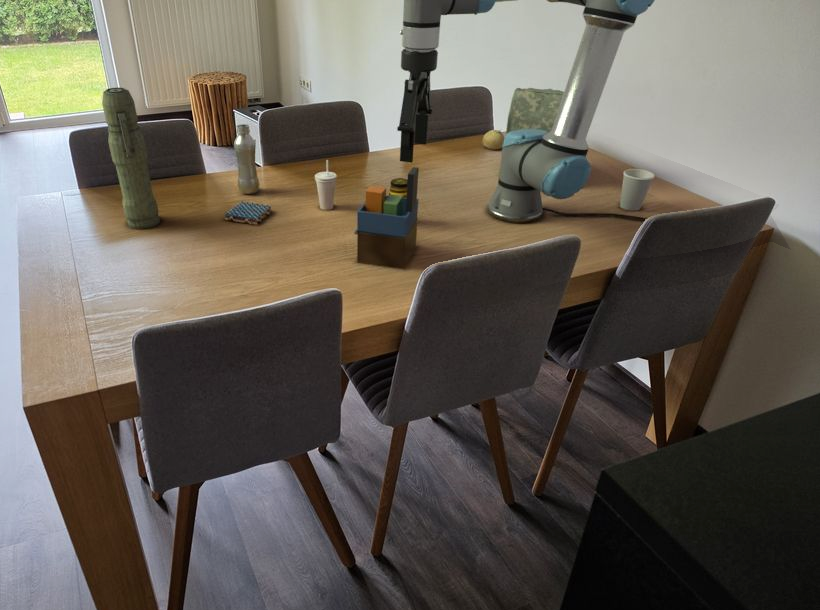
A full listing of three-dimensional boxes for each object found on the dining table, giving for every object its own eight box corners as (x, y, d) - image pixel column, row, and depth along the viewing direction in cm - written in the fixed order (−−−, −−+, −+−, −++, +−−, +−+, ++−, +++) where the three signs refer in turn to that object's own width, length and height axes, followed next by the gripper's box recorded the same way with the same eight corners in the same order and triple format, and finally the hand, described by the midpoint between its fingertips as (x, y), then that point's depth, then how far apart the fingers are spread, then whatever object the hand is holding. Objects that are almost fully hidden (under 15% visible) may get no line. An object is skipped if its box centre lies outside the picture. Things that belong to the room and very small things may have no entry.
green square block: (402, 218, 151) (403, 195, 148) (395, 228, 147) (396, 204, 143) (389, 217, 152) (390, 194, 149) (383, 226, 148) (383, 203, 144)
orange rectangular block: (385, 218, 152) (386, 187, 147) (381, 224, 149) (381, 192, 144) (370, 216, 153) (370, 185, 148) (365, 222, 150) (365, 191, 145)
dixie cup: (649, 206, 180) (659, 173, 174) (638, 214, 175) (648, 180, 170) (622, 199, 185) (630, 166, 179) (610, 207, 180) (618, 173, 174)
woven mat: (223, 220, 172) (222, 214, 171) (241, 207, 180) (240, 200, 179) (256, 226, 169) (255, 219, 168) (273, 211, 177) (272, 205, 176)
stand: (416, 245, 159) (418, 214, 154) (402, 270, 148) (404, 237, 143) (370, 239, 162) (371, 208, 157) (353, 262, 151) (353, 230, 146)
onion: (481, 151, 223) (484, 131, 219) (481, 144, 230) (484, 125, 225) (504, 152, 222) (506, 132, 218) (503, 145, 228) (506, 126, 224)
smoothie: (334, 212, 177) (333, 164, 169) (313, 210, 178) (311, 163, 170) (339, 204, 182) (339, 157, 174) (318, 202, 183) (317, 155, 175)
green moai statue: (154, 212, 177) (128, 83, 157) (165, 226, 168) (139, 92, 148) (122, 218, 173) (92, 86, 153) (132, 233, 165) (101, 96, 145)
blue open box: (418, 218, 153) (422, 162, 145) (406, 237, 144) (410, 179, 136) (371, 212, 156) (372, 157, 148) (357, 230, 147) (357, 173, 139)
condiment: (407, 229, 167) (409, 186, 160) (377, 225, 169) (378, 183, 162) (413, 218, 173) (415, 177, 166) (384, 215, 175) (385, 174, 168)
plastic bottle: (234, 194, 188) (226, 127, 177) (245, 187, 193) (239, 122, 182) (253, 197, 186) (246, 130, 175) (263, 190, 191) (258, 124, 180)
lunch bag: (578, 174, 203) (597, 86, 187) (563, 189, 191) (582, 97, 176) (513, 162, 212) (526, 78, 196) (496, 176, 201) (508, 88, 185)
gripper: (416, 38, 137) (410, 135, 149) (386, 58, 117) (382, 167, 129) (449, 40, 135) (440, 138, 147) (424, 60, 115) (417, 171, 127)
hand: (413, 152), depth 138 cm, fingers open, 13 cm apart
